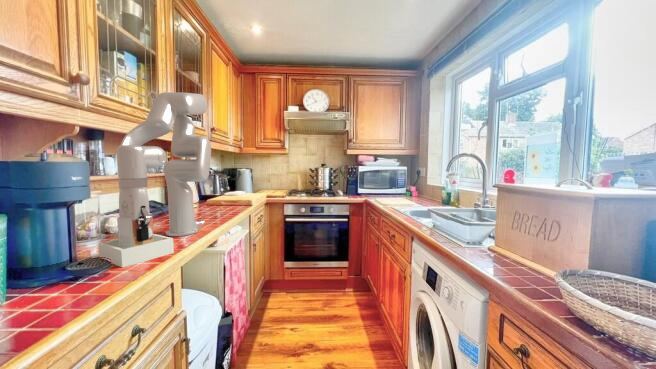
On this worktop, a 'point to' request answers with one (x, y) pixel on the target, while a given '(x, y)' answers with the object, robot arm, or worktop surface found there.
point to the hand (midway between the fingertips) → (137, 238)
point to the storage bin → (136, 251)
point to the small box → (132, 232)
